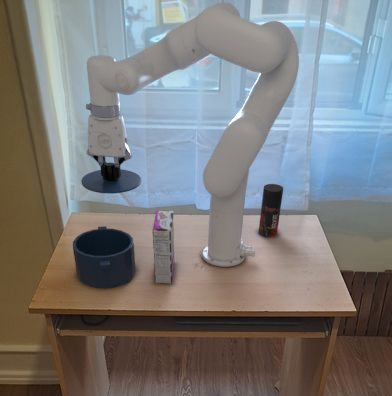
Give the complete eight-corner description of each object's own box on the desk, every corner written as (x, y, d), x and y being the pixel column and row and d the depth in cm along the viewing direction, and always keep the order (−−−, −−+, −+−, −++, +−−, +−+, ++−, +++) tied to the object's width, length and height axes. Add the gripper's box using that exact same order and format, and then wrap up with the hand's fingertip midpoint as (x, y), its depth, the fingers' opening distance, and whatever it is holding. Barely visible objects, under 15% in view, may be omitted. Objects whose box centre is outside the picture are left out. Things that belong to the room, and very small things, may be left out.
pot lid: (138, 171, 151) (137, 152, 147) (144, 194, 138) (143, 174, 135) (81, 173, 149) (79, 154, 145) (81, 197, 136) (79, 176, 132)
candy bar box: (157, 263, 144) (155, 209, 133) (174, 263, 144) (174, 210, 133) (154, 284, 135) (151, 228, 125) (172, 284, 135) (171, 229, 125)
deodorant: (266, 227, 163) (272, 182, 153) (280, 233, 160) (287, 188, 150) (254, 232, 160) (259, 187, 150) (269, 239, 157) (275, 193, 147)
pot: (132, 252, 149) (130, 222, 142) (138, 291, 133) (136, 260, 126) (77, 255, 146) (73, 225, 140) (77, 296, 130) (72, 264, 124)
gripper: (71, 111, 129) (79, 181, 141) (131, 116, 127) (135, 186, 139) (81, 104, 134) (88, 171, 146) (139, 108, 133) (142, 176, 145)
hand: (111, 178), depth 143 cm, fingers closed on pot lid, 2 cm apart
